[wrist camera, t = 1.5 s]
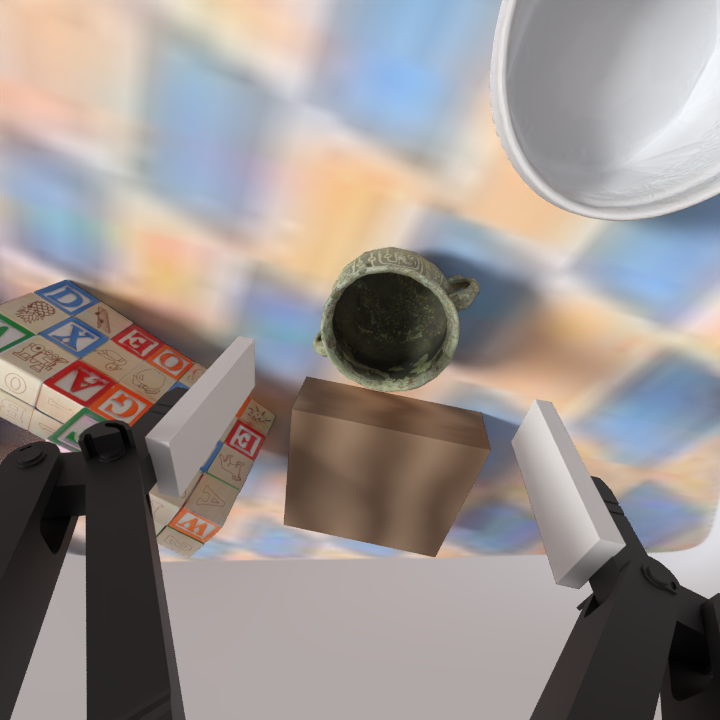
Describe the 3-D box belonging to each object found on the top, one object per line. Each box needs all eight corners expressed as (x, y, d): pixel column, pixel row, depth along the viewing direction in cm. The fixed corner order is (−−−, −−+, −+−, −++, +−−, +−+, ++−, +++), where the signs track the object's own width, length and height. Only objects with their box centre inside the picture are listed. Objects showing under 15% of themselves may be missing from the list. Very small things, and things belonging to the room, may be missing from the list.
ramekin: (443, -27, 17) (459, -115, 11) (783, -232, 13) (1075, -527, 7) (497, 232, 23) (526, 262, 17) (743, 144, 19) (888, 144, 13)
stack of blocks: (53, 326, 32) (-118, 413, 22) (67, 276, 29) (-122, 350, 19) (249, 446, 38) (187, 562, 27) (279, 414, 35) (221, 531, 24)
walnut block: (297, 485, 40) (283, 524, 36) (307, 374, 32) (291, 409, 28) (432, 513, 40) (435, 557, 36) (480, 409, 31) (491, 450, 27)
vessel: (347, 365, 30) (333, 412, 25) (297, 274, 26) (268, 306, 21) (487, 320, 26) (506, 364, 21) (452, 205, 23) (465, 224, 17)
